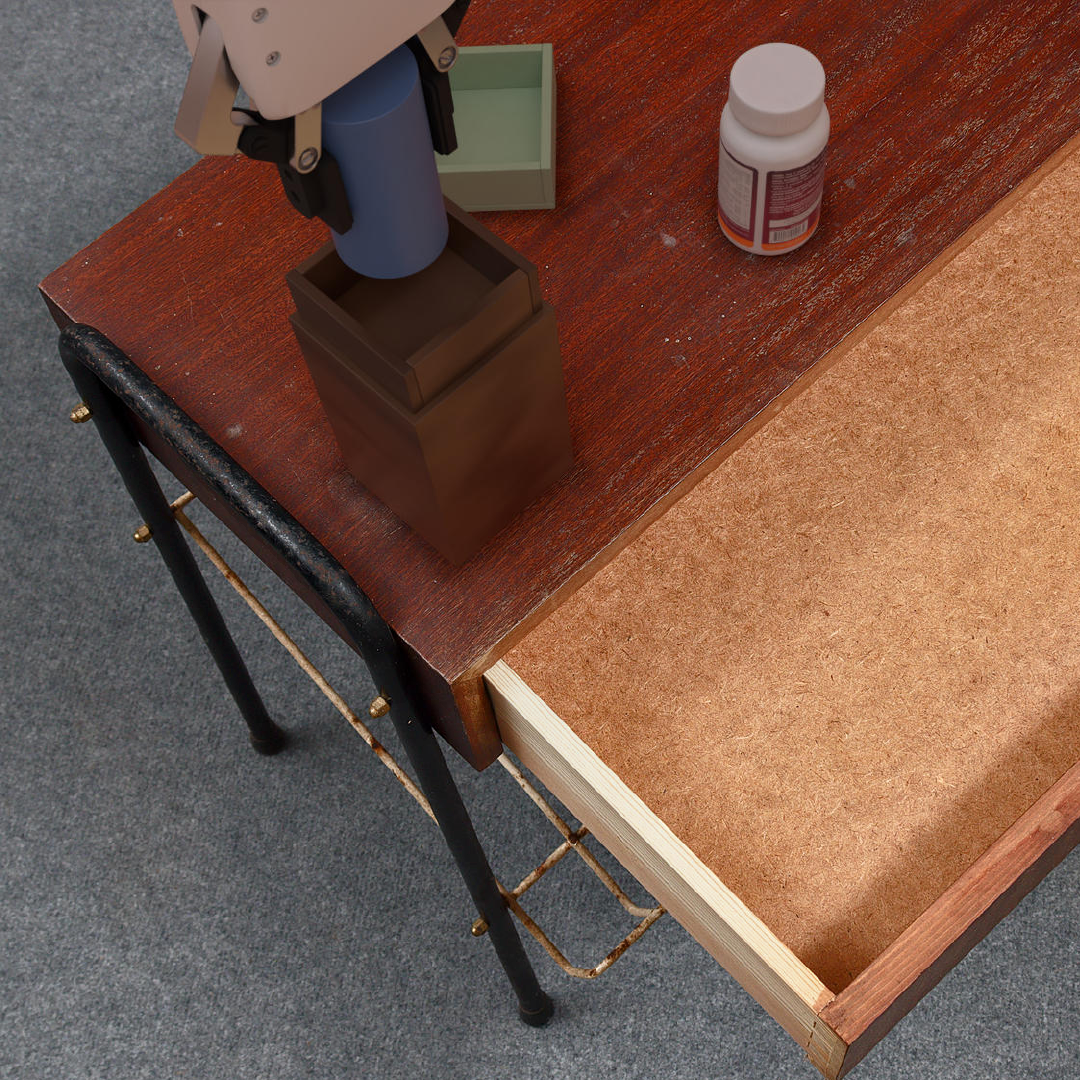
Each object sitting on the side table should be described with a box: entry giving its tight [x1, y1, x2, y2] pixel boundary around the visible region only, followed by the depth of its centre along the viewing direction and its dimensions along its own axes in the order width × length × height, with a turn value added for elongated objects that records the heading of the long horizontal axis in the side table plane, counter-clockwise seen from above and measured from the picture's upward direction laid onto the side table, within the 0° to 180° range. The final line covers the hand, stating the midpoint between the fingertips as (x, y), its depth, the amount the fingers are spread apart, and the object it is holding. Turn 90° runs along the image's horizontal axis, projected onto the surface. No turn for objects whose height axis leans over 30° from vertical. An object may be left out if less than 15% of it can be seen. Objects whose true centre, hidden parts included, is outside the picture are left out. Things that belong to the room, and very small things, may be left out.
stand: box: [284, 193, 575, 569], centre depth 74 cm, size 9×9×17 cm
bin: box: [434, 42, 558, 213], centre depth 90 cm, size 10×10×4 cm
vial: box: [321, 43, 449, 279], centre depth 59 cm, size 5×5×9 cm
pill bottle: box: [717, 42, 831, 256], centre depth 83 cm, size 6×6×11 cm
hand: (376, 171), depth 60 cm, fingers closed on vial, 5 cm apart
